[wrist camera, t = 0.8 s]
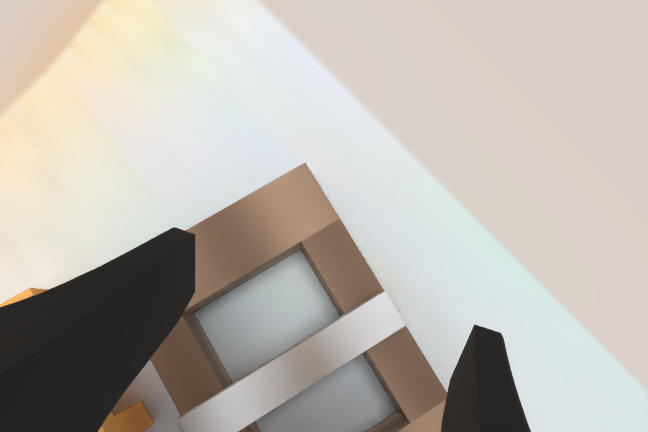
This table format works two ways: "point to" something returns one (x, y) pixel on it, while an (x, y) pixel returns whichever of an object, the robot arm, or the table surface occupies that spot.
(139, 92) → the table surface
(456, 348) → the table surface
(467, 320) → the table surface
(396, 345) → the shelf
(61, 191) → the table surface
